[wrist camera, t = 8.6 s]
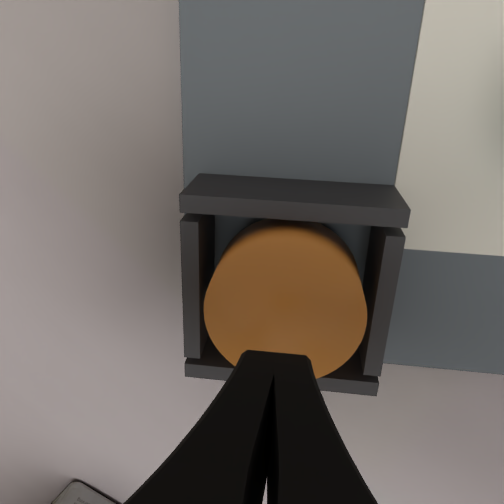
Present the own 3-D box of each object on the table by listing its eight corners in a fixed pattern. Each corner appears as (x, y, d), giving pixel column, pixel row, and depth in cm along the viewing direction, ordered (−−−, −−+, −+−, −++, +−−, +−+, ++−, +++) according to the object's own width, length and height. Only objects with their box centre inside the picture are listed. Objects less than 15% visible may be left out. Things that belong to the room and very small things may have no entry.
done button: (368, 221, 13) (378, 248, 11) (349, 348, 15) (355, 390, 13) (217, 210, 13) (202, 235, 11) (216, 336, 15) (204, 374, 13)
